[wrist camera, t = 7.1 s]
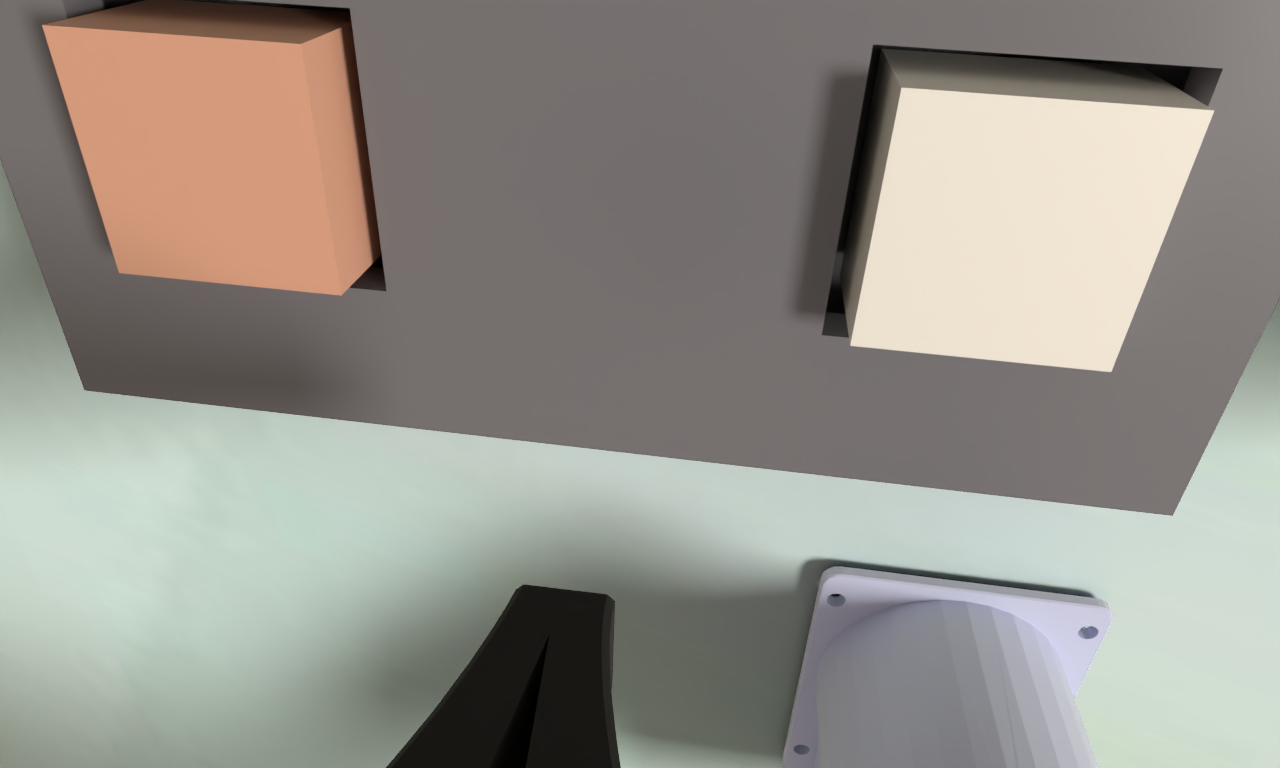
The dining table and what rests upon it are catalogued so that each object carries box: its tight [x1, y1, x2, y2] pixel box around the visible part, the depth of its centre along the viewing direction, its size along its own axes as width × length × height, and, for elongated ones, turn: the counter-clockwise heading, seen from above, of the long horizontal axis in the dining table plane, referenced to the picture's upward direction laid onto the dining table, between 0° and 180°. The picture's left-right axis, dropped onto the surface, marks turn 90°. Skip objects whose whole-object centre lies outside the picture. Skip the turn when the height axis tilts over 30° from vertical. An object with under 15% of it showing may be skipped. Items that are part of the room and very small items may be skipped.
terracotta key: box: [42, 0, 382, 296], centre depth 16 cm, size 4×4×3 cm
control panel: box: [0, 0, 1280, 516], centre depth 17 cm, size 12×24×4 cm, turn 88°
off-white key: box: [840, 49, 1215, 372], centre depth 15 cm, size 4×4×3 cm
